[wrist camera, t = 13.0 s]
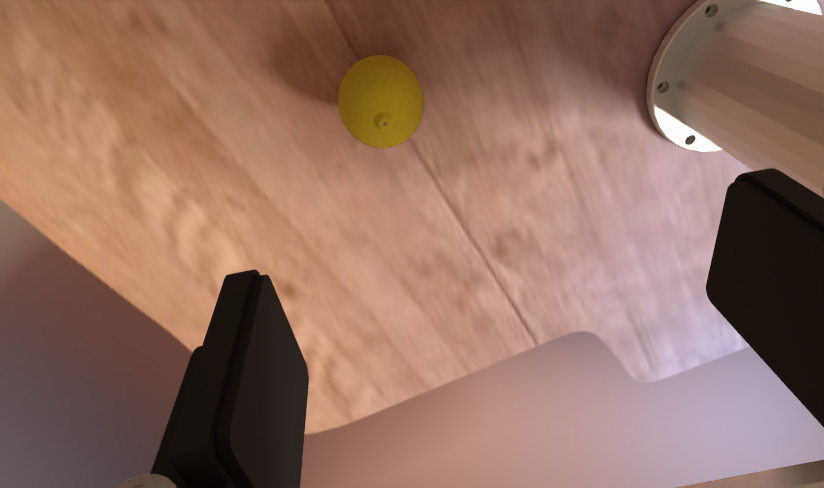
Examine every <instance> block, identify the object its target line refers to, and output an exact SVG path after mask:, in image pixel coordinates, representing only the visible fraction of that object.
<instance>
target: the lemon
mask: <svg viewBox="0 0 824 488" xmlns="http://www.w3.org/2000/svg"><path fill="white" fill-rule="evenodd" d="M338 107H339V111H340V115H341V118H342V120H343V122H344V124H345V126H346V128H347V129H348V131H349V132H350V133H351V134H352V135H353V136H354V137H355V138H356V139H357V140H359V141H360V142H362V143H363V144H366V145H368V146H371V147H376V148H389V147H394V146H396V145H399V144H401V143H403V142H404V141H406V140H407V139H408V138H409V137H410V136H411V135H412V134H413V133H414V132H415V131H416V129H417V127H418V125H419V123H420V121H421V118H422V114H423V109H424V95H423V91H422V88H421V84H420V82H419V80H418V78H417V77H416V75H415V73H414V72H413V71H412V70H411V69H410V68H409V67H408V66H407V65H406V64H405V63H403V62H402V61H400V60H398V59H397V58H394V57H390V56H387V55H373V56H369V57H365V58H363V59H361V60H360V61H358V62H356V63H355V64H354V65H353V66H352V67H351V68H350V69H349V70H348V71H347V72H346V74H345V76H344V78H343V79H342V81H341V85H340V88H339V92H338Z"/></svg>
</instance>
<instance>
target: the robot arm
mask: <svg viewBox="0 0 824 488" xmlns="http://www.w3.org/2000/svg"><path fill="white" fill-rule="evenodd" d="M646 95H647V107H648V111H649V114H650V118H651V120H652V121H653V123H654V125H655V127H656V129H657V130H658V131H659V132H660V133H661V134H662V135H663V136H664V137H665V138H667V139H668V140H670V141H671V142H672V143H674V144H675V145H677V146H679V147H681V148H683V149H686V150H692V151H697V152H714V151H719V150H723V151H725V152H727V153H728V154H730V155H731V156H733V157H734V158H736V159H737V160H739V161H740V162H742V163H743V164H745V165H746V166H748V167H749V168H751V169H752V170H754V171H753V172H748V173H743V174H741V175H739V176H738V177H737V178H736V179H735V182H734V183H732V184H730V186H729V187H728V189H727V193H726V198H725V202H724V207H723V211H722V216H721V220H720V225H719V229H718V234H717V238H716V243H715V247H714V252H713V257H712V261H711V266H710V270H709V275H708V279H707V284H706V292H707V296H708V298H709V300H710V302H711V303H712V304H713V305H714V306H715V307H716V309H717V310H718V311H719V312H720V313H721V314H722V315H723V316H724V317H725V319H726V320H727V321H728V322H729V323H730V324H731V325H732V326H733V327H734V329H735V330H736V331H737V332H738V333H739V334H740V335H741V336H742V337H743V338H744V340H745V341H746V342H747V343H748V344H749V345H750V346H751V347H752V348H753V349H754V351H755V352H756V353H757V354H758V355H759V356H760V357H761V358H762V359H763V361H764V362H765V363H766V364H767V365H768V366H769V367H770V368H771V369H772V371H773V372H774V373H775V374H776V375H777V376H778V377H779V378H780V379H781V381H782V382H783V383H784V384H785V385H786V386H787V387H788V388H789V389H790V390H791V392H792V393H793V394H794V395H795V396H796V397H797V398H798V399H799V400H800V401H801V403H802V404H803V405H804V406H805V407H806V408H807V409H808V410H809V411H810V412H811V414H812V415H813V416H814V417H815V418H816V419H817V420H818V421H819V422H820V424H821V425H822V426H823V427H824V15H822V12H821V9H820V5H819V4H818V2H817V1H816V0H698V1H697V2H696V3H694V4H693V5H692V6H691V7H690V8H688V9H687V10H686V11H685V13H684V14H683V15H682V16H681V17H680V18H679V19H678V20H677V21H676V22H675V23H674V25H673V26H672V28H671V29H670V30H669V32H668V33H667V35H666V36H665V38H664V39H663V40H662V42H661V44H660V46H659V48H658V50H657V52H656V54H655V56H654V59H653V62H652V65H651V68H650V71H649V75H648V81H647V88H646ZM308 383H309V376H308V369H307V365H306V362H305V360H304V358H303V355H302V353H301V350H300V348H299V346H298V343H297V341H296V339H295V336H294V334H293V331H292V329H291V327H290V324H289V322H288V319H287V317H286V315H285V312H284V310H283V308H282V305H281V303H280V300H279V298H278V296H277V293H276V291H275V288H274V286H273V284H272V281H271V279H270V277H269V276H268V275H261V276H260V274H259V272H258V271H257V270H249V271H244V272H239V273H234V274H229V275H227V276H226V277H225V279H224V282H223V285H222V288H221V291H220V294H219V297H218V300H217V303H216V306H215V309H214V312H213V315H212V318H211V321H210V324H209V327H208V330H207V333H206V336H205V339H204V343H203V346H200V347H197V348H196V349H195V350H194V352H193V354H192V356H191V358H190V361H189V364H188V367H187V369H186V372H185V375H184V378H183V381H182V384H181V387H180V390H179V393H178V396H177V399H176V401H175V404H174V407H173V410H172V413H171V416H170V419H169V422H168V424H167V428H166V430H165V433H164V436H163V439H162V442H161V445H160V447H159V450H158V453H157V456H156V459H155V462H154V465H153V468H152V471H151V473H150V474H147V475H140V476H137V477H135V478H132V479H130V480H127V481H124V482H123V483H121V484H120V485H118V486H117V487H115V488H300V479H301V467H302V455H303V443H304V431H305V419H306V407H307V395H308ZM677 488H824V460H820V461H815V462H809V463H804V464H798V465H793V466H788V467H783V468H777V469H772V470H766V471H761V472H756V473H750V474H745V475H740V476H735V477H729V478H724V479H719V480H714V481H708V482H703V483H698V484H693V485H688V486H682V487H677Z"/></svg>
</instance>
